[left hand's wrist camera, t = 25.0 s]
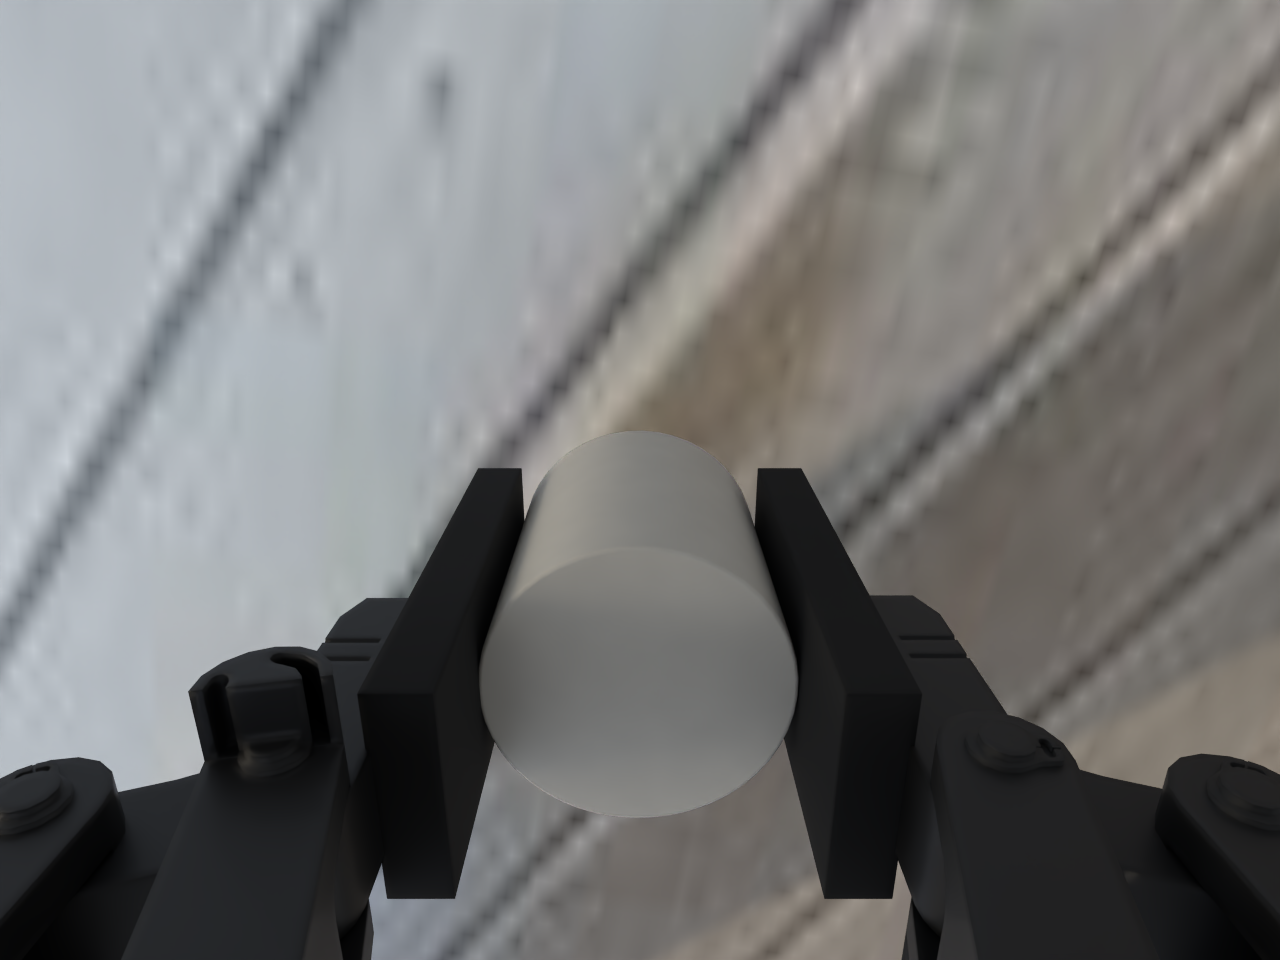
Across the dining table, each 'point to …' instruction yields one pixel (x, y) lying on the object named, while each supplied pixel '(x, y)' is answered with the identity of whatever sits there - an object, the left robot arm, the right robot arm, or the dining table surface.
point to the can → (638, 634)
